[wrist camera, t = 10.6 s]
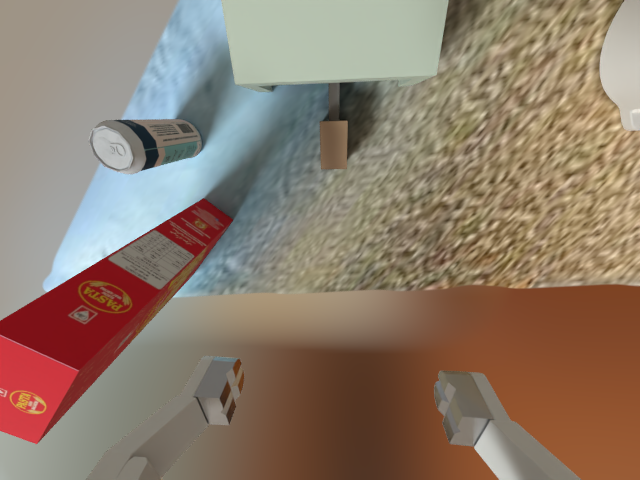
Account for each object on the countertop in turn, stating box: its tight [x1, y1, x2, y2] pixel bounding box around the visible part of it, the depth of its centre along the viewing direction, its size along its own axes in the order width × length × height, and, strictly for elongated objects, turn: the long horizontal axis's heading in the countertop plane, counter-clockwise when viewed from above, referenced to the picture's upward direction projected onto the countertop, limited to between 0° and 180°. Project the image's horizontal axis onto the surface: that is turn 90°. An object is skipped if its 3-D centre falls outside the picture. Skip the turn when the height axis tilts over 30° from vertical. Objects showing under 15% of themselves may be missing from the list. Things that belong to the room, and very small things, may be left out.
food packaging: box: [0, 198, 233, 444], centre depth 28 cm, size 15×5×25 cm, turn 139°
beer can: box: [88, 119, 202, 174], centre depth 27 cm, size 5×5×12 cm
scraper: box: [320, 82, 348, 169], centre depth 26 cm, size 6×16×5 cm, turn 2°
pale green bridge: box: [221, 0, 449, 92], centre depth 23 cm, size 18×8×8 cm, turn 92°
